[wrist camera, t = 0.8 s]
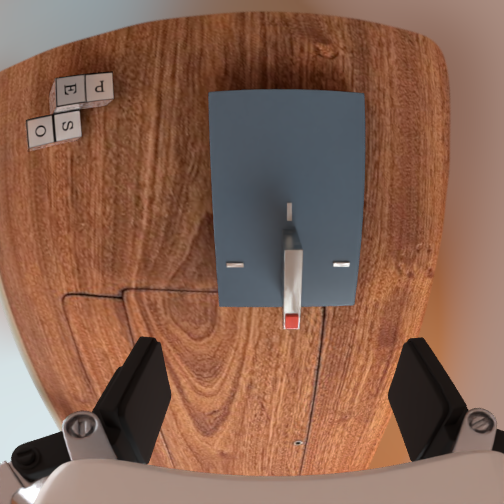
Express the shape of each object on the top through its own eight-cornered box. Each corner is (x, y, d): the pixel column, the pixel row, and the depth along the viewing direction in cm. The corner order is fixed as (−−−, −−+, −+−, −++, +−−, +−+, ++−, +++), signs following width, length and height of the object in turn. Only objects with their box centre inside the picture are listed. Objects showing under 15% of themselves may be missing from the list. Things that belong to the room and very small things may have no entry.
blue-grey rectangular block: (214, 97, 24) (207, 91, 21) (354, 98, 24) (365, 92, 21) (224, 301, 31) (219, 318, 28) (346, 300, 30) (353, 317, 27)
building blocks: (97, 87, 26) (24, 99, 21) (112, 71, 22) (25, 83, 17) (101, 136, 28) (27, 151, 23) (116, 127, 24) (28, 144, 19)
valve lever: (281, 229, 25) (284, 251, 20) (296, 229, 25) (303, 250, 20) (281, 297, 27) (283, 331, 22) (295, 297, 27) (299, 330, 22)
